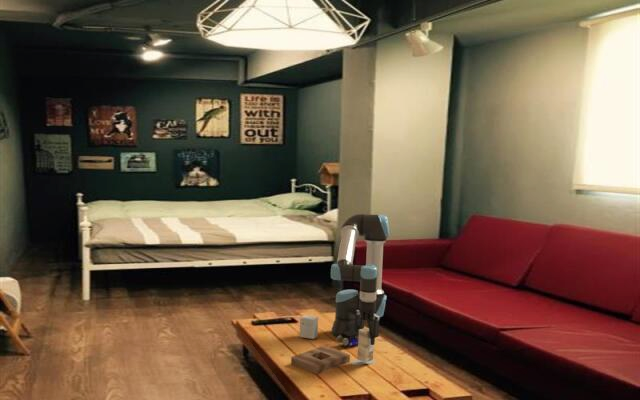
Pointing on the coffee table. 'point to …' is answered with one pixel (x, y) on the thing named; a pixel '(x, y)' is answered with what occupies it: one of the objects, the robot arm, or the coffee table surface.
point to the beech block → (364, 345)
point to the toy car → (348, 338)
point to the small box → (308, 326)
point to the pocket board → (315, 365)
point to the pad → (362, 362)
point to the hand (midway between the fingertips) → (365, 349)
